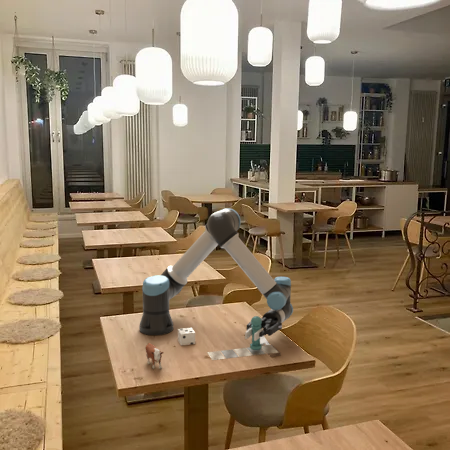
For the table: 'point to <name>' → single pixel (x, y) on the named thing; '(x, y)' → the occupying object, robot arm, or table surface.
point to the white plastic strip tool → (263, 341)
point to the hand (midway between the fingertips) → (250, 336)
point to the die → (186, 336)
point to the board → (244, 352)
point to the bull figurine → (153, 355)
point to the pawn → (255, 327)
